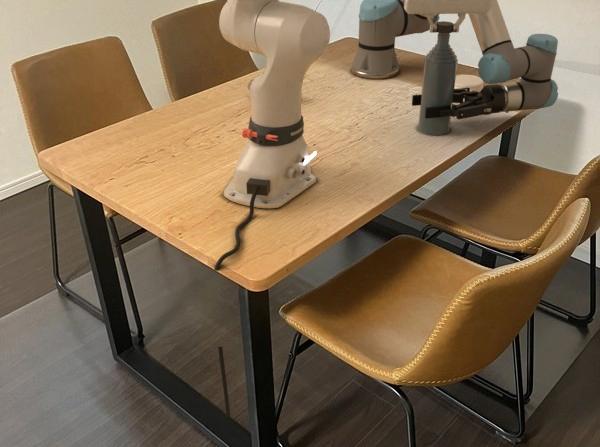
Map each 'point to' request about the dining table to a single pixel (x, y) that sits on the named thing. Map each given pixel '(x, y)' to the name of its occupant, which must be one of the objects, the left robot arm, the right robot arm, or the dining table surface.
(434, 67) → the bottle
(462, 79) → the cream round disc
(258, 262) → the dining table surface
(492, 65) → the right robot arm
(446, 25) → the cap
